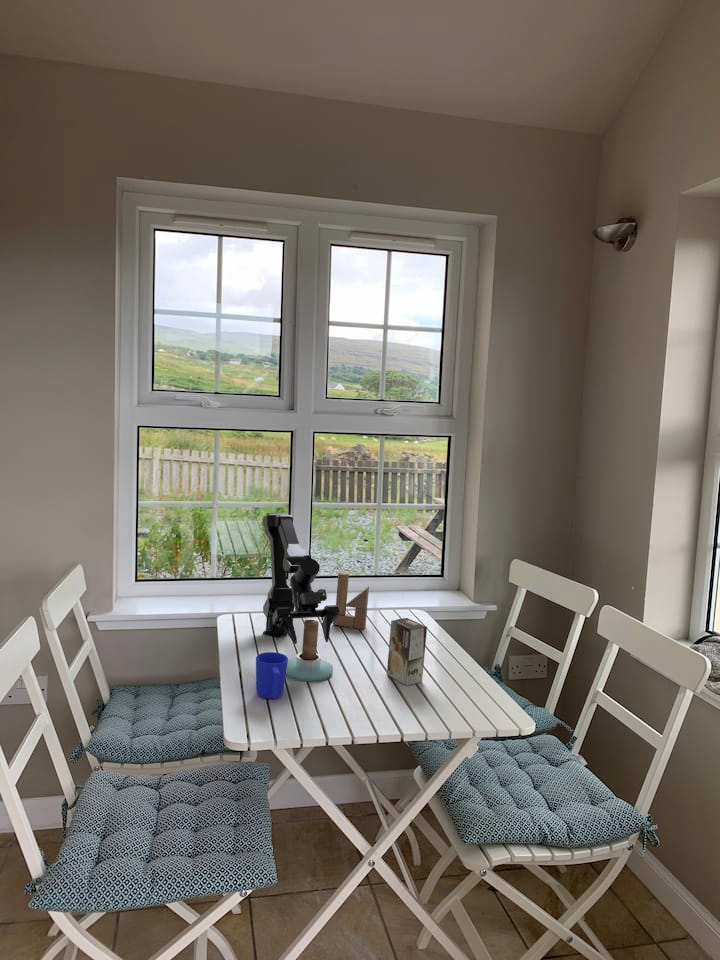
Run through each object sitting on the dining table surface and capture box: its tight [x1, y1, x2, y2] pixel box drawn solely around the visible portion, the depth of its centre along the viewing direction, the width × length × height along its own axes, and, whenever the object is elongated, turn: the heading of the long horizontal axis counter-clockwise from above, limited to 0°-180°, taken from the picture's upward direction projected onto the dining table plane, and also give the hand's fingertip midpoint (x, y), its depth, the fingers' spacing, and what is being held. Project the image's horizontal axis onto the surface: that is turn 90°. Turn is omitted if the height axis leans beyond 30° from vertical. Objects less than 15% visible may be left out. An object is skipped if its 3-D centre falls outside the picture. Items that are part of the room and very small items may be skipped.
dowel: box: [301, 619, 320, 660], centre depth 209 cm, size 4×4×13 cm
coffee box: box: [386, 617, 428, 686], centre depth 210 cm, size 9×6×16 cm
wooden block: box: [332, 571, 370, 630], centre depth 251 cm, size 4×11×18 cm, turn 79°
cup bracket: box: [285, 652, 334, 683], centre depth 210 cm, size 14×14×4 cm
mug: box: [255, 651, 289, 700], centre depth 190 cm, size 8×12×10 cm
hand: (311, 642), depth 208 cm, fingers open, 9 cm apart
